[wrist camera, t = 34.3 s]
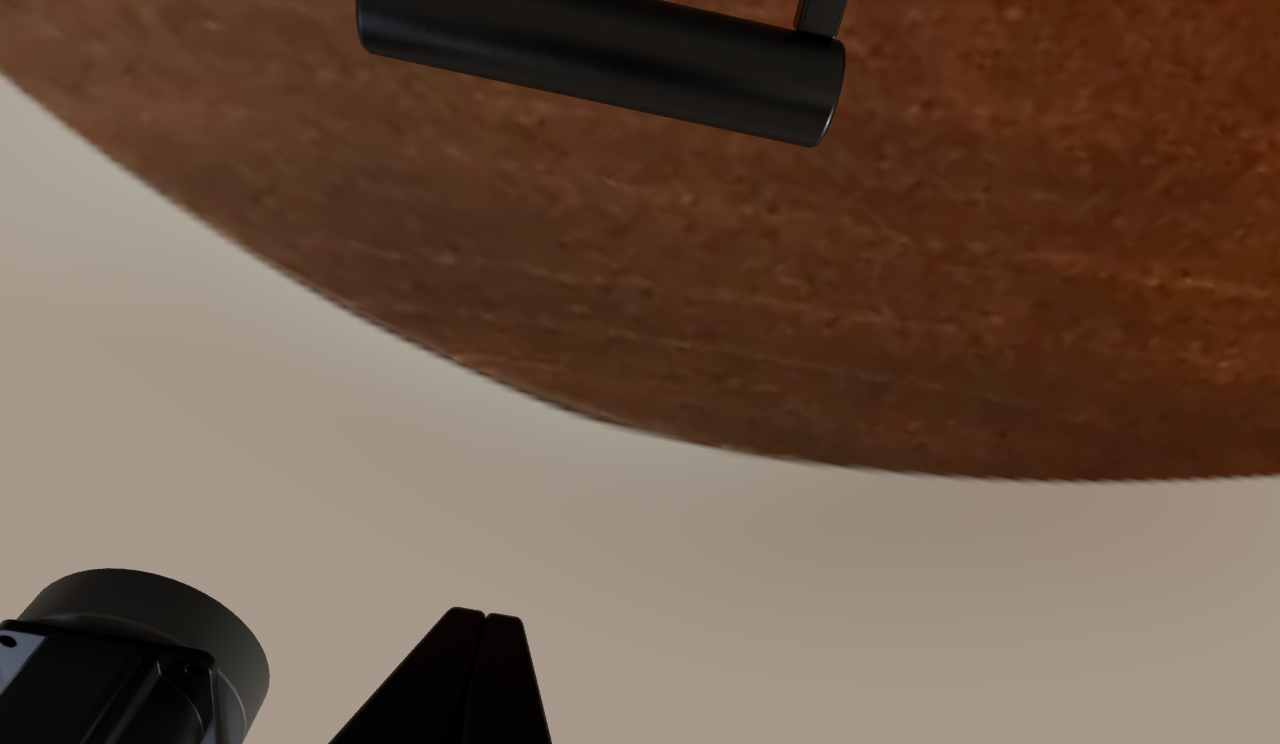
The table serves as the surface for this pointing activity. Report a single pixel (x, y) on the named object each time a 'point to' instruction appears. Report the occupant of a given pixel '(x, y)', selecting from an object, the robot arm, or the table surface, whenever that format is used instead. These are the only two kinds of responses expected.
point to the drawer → (633, 56)
